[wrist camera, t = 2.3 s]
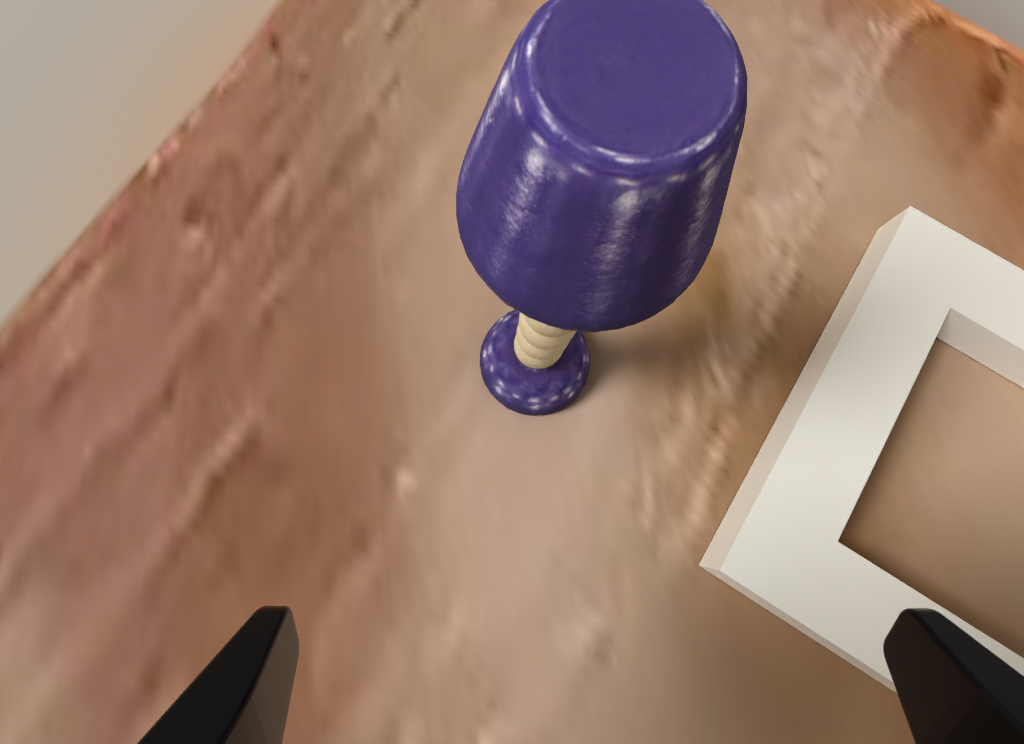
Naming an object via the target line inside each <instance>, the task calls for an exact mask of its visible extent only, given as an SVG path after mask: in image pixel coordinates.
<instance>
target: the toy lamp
mask: <svg viewBox="0 0 1024 744" xmlns="http://www.w3.org/2000/svg"><path fill="white" fill-rule="evenodd" d="M746 107H747V74H746V69H745V65H744V61H743V58H742V55H741V52H740V50H739V47H738V45H737V42H736V40H735V38H734V36H733V34H732V33H731V31H730V30H729V28H728V27H727V26H726V24H725V23H724V21H723V20H722V19H721V17H720V16H719V14H718V13H717V12H716V11H715V10H714V9H713V8H711V7H710V6H709V5H708V4H707V3H705V2H704V1H703V0H549V1H547V2H546V3H545V4H543V5H542V6H541V7H540V8H539V9H538V10H537V11H536V12H535V14H534V15H533V16H532V18H531V19H530V20H529V22H528V23H527V24H526V26H525V27H524V29H523V30H522V31H521V33H520V34H519V36H518V38H517V40H516V42H515V44H514V46H513V47H512V49H511V51H510V53H509V55H508V57H507V59H506V61H505V63H504V66H503V68H502V70H501V73H500V75H499V77H498V80H497V82H496V84H495V86H494V88H493V90H492V92H491V94H490V97H489V99H488V101H487V104H486V106H485V109H484V111H483V113H482V116H481V118H480V120H479V123H478V125H477V127H476V130H475V132H474V134H473V137H472V139H471V142H470V144H469V147H468V149H467V152H466V155H465V157H464V160H463V163H462V167H461V171H460V175H459V180H458V186H457V194H456V216H457V222H458V228H459V233H460V238H461V241H462V243H463V246H464V249H465V252H466V254H467V257H468V259H469V260H470V262H471V263H472V265H473V267H474V268H475V270H476V272H477V273H478V275H479V276H480V277H481V279H482V280H483V281H484V282H485V283H486V284H487V286H488V287H489V288H490V289H491V290H492V291H493V292H494V293H495V294H496V295H497V296H498V297H499V298H500V299H501V300H502V301H503V302H504V303H505V304H507V305H509V306H511V307H513V308H514V309H515V310H514V311H511V312H509V313H507V314H506V315H504V316H503V317H502V318H501V319H499V320H498V321H497V322H496V323H495V324H494V325H493V326H492V328H491V329H490V330H489V332H488V333H487V335H486V337H485V339H484V341H483V344H482V348H481V352H480V367H481V373H482V377H483V380H484V382H485V384H486V386H487V388H488V389H489V391H490V393H491V394H492V395H493V396H494V397H495V398H496V399H497V400H498V401H499V402H500V403H502V404H503V405H504V406H505V407H507V408H508V409H510V410H513V411H515V412H518V413H521V414H525V415H534V416H535V415H546V414H551V413H554V412H556V411H559V410H561V409H563V408H564V407H566V406H567V405H568V404H570V403H571V402H572V401H573V400H574V399H575V398H576V397H577V396H578V394H579V393H580V391H581V390H582V388H583V387H584V385H585V382H586V380H587V376H588V373H589V365H590V355H589V350H588V346H587V343H586V340H585V337H584V336H583V334H582V332H581V331H584V332H598V331H607V330H614V329H615V330H617V329H620V328H624V327H626V326H631V325H635V324H637V323H639V322H641V321H644V320H646V319H648V318H650V317H652V316H654V315H656V314H657V313H659V312H660V311H662V310H663V309H665V308H666V307H667V306H669V305H670V304H672V303H673V302H674V301H675V300H676V298H677V297H679V296H680V295H681V294H682V293H683V292H684V291H685V290H686V289H687V288H688V287H689V285H690V284H691V283H692V282H693V281H694V279H695V278H696V276H697V275H698V273H699V271H700V270H701V268H702V266H703V264H704V262H705V260H706V258H707V256H708V254H709V252H710V249H711V247H712V245H713V242H714V239H715V235H716V232H717V228H718V225H719V221H720V218H721V214H722V210H723V206H724V202H725V198H726V195H727V191H728V187H729V183H730V179H731V175H732V170H733V166H734V162H735V159H736V155H737V151H738V147H739V143H740V139H741V136H742V132H743V128H744V122H745V114H746Z"/></svg>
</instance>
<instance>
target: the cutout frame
mask: <svg viewBox="0 0 1024 744" xmlns="http://www.w3.org/2000/svg"><path fill="white" fill-rule="evenodd" d="M936 337H937V338H939V339H940V340H942V341H944V342H945V343H947V344H949V345H950V346H952V347H954V348H956V349H957V350H959V351H961V352H962V353H964V354H966V355H967V356H969V357H971V358H973V359H974V360H976V361H978V362H979V363H981V364H983V365H985V366H986V367H988V368H990V369H991V370H993V371H995V372H996V373H998V374H1000V375H1002V376H1003V377H1005V378H1007V379H1008V380H1010V381H1012V382H1013V383H1015V384H1017V385H1019V386H1020V387H1022V388H1024V270H1022V269H1020V268H1018V267H1017V266H1015V265H1013V264H1011V263H1009V262H1008V261H1006V260H1004V259H1002V258H1001V257H999V256H997V255H995V254H994V253H992V252H990V251H988V250H987V249H985V248H983V247H981V246H980V245H978V244H976V243H974V242H973V241H971V240H969V239H967V238H966V237H964V236H962V235H960V234H959V233H957V232H955V231H953V230H952V229H950V228H948V227H946V226H945V225H943V224H941V223H939V222H938V221H936V220H934V219H932V218H931V217H929V216H927V215H925V214H924V213H922V212H920V211H918V210H916V209H915V208H913V207H911V206H909V207H908V208H907V209H905V210H904V211H903V212H901V213H900V214H898V215H897V216H896V217H894V218H893V219H891V220H890V221H889V222H887V223H886V224H885V225H883V226H882V227H880V228H879V229H878V230H877V232H876V234H875V235H874V237H873V239H872V241H871V243H870V245H869V247H868V249H867V250H866V252H865V254H864V256H863V258H862V260H861V262H860V264H859V265H858V267H857V269H856V271H855V273H854V275H853V277H852V279H851V280H850V282H849V284H848V286H847V288H846V290H845V292H844V294H843V295H842V297H841V299H840V301H839V303H838V305H837V307H836V309H835V310H834V312H833V314H832V316H831V318H830V320H829V322H828V324H827V325H826V327H825V329H824V331H823V333H822V335H821V337H820V339H819V340H818V342H817V344H816V346H815V348H814V350H813V352H812V354H811V355H810V357H809V359H808V361H807V363H806V365H805V367H804V369H803V370H802V372H801V374H800V376H799V378H798V380H797V382H796V384H795V385H794V387H793V389H792V391H791V393H790V395H789V397H788V399H787V400H786V402H785V404H784V406H783V408H782V410H781V412H780V414H779V415H778V417H777V419H776V421H775V423H774V425H773V427H772V429H771V430H770V432H769V434H768V436H767V438H766V440H765V442H764V444H763V445H762V447H761V449H760V451H759V453H758V455H757V457H756V459H755V460H754V462H753V464H752V466H751V468H750V470H749V472H748V474H747V475H746V477H745V479H744V481H743V483H742V485H741V487H740V489H739V490H738V492H737V494H736V496H735V498H734V500H733V502H732V504H731V505H730V507H729V509H728V511H727V513H726V515H725V517H724V519H723V520H722V522H721V524H720V526H719V528H718V530H717V532H716V534H715V535H714V537H713V539H712V541H711V543H710V545H709V547H708V549H707V550H706V552H705V554H704V556H703V558H702V560H701V562H700V564H699V566H700V567H702V568H703V569H705V570H706V571H708V572H709V573H711V574H713V575H714V576H716V577H717V578H719V579H720V580H722V581H723V582H725V583H727V584H728V585H730V586H731V587H733V588H734V589H736V590H737V591H739V592H740V593H742V594H744V595H745V596H747V597H748V598H750V599H751V600H753V601H754V602H756V603H757V604H759V605H761V606H762V607H764V608H765V609H767V610H768V611H770V612H771V613H773V614H775V615H776V616H778V617H779V618H781V619H782V620H784V621H785V622H787V623H788V624H790V625H792V626H793V627H795V628H796V629H798V630H799V631H801V632H802V633H804V634H805V635H807V636H809V637H810V638H812V639H813V640H815V641H816V642H818V643H819V644H821V645H823V646H824V647H826V648H827V649H829V650H830V651H832V652H833V653H835V654H836V655H838V656H840V657H841V658H843V659H844V660H846V661H847V662H849V663H850V664H852V665H854V666H855V667H857V668H858V669H860V670H861V671H863V672H864V673H866V674H867V675H869V676H871V677H872V678H874V679H875V680H877V681H878V682H880V683H881V684H883V685H884V686H886V687H888V688H889V689H891V690H892V691H894V692H895V693H897V691H896V688H895V685H894V683H893V680H892V677H891V674H890V672H889V669H888V666H887V663H886V660H885V657H884V652H883V644H884V640H885V638H886V636H887V634H888V633H889V631H890V629H891V628H892V626H893V624H894V622H895V621H896V619H897V617H898V616H899V614H900V613H901V612H902V611H903V610H904V609H907V608H929V609H933V610H936V611H938V612H939V613H941V614H942V615H944V616H945V617H946V618H948V619H949V620H950V621H952V622H953V623H954V624H956V625H957V626H958V627H960V628H961V629H962V630H964V631H965V632H966V633H967V634H969V635H970V636H971V637H973V638H974V639H975V640H977V641H978V642H979V643H981V644H982V645H983V646H985V647H986V648H987V649H989V650H990V651H991V652H993V653H994V654H995V655H997V656H998V657H999V658H1000V659H1002V660H1003V661H1004V662H1006V663H1007V664H1008V665H1010V666H1011V667H1012V668H1014V669H1015V670H1016V671H1018V672H1019V673H1020V674H1022V675H1023V676H1024V658H1022V657H1021V656H1019V655H1018V654H1016V653H1014V652H1013V651H1011V650H1010V649H1008V648H1006V647H1005V646H1003V645H1002V644H1000V643H998V642H997V641H995V640H994V639H992V638H990V637H989V636H987V635H986V634H984V633H983V632H981V631H979V630H978V629H976V628H975V627H973V626H971V625H970V624H968V623H967V622H965V621H963V620H962V619H960V618H959V617H957V616H955V615H954V614H952V613H951V612H949V611H948V610H946V609H944V608H943V607H941V606H940V605H938V604H936V603H935V602H933V601H932V600H930V599H928V598H927V597H925V596H924V595H922V594H920V593H919V592H917V591H916V590H914V589H912V588H911V587H909V586H908V585H906V584H905V583H903V582H901V581H900V580H898V579H897V578H895V577H893V576H892V575H890V574H889V573H887V572H885V571H884V570H882V569H881V568H879V567H877V566H876V565H874V564H873V563H871V562H870V561H868V560H866V559H865V558H863V557H862V556H860V555H858V554H857V553H855V552H854V551H852V550H850V549H849V548H847V547H846V546H844V545H842V544H841V543H839V542H838V540H839V538H840V536H841V533H842V531H843V529H844V527H845V525H846V523H847V521H848V519H849V517H850V515H851V513H852V511H853V509H854V506H855V504H856V502H857V500H858V498H859V496H860V494H861V492H862V490H863V488H864V486H865V484H866V482H867V480H868V477H869V475H870V473H871V471H872V469H873V467H874V465H875V463H876V461H877V459H878V457H879V455H880V453H881V450H882V448H883V446H884V444H885V442H886V440H887V438H888V436H889V434H890V432H891V430H892V428H893V426H894V423H895V421H896V419H897V417H898V415H899V413H900V411H901V409H902V407H903V405H904V403H905V401H906V399H907V397H908V394H909V392H910V390H911V388H912V386H913V384H914V382H915V380H916V378H917V376H918V374H919V372H920V370H921V367H922V365H923V363H924V361H925V359H926V357H927V355H928V353H929V351H930V349H931V347H932V345H933V343H934V340H935V338H936Z"/></svg>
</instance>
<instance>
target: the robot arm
mask: <svg viewBox="0 0 1024 744" xmlns="http://www.w3.org/2000/svg"><path fill="white" fill-rule="evenodd" d="M883 652H884V657H885V660H886V663H887V666H888V669H889V672H890V674H891V677H892V680H893V683H894V685H895V688H896V691H897V694H898V696H899V699H900V702H901V705H902V708H903V710H904V713H905V716H906V719H907V721H908V724H909V727H910V730H911V732H912V735H913V738H914V741H915V744H1024V676H1023V675H1022V674H1020V673H1019V672H1018V671H1016V670H1015V669H1014V668H1012V667H1011V666H1010V665H1008V664H1007V663H1006V662H1004V661H1003V660H1002V659H1000V658H999V657H998V656H997V655H995V654H994V653H993V652H991V651H990V650H989V649H987V648H986V647H985V646H983V645H982V644H981V643H979V642H978V641H977V640H975V639H974V638H973V637H971V636H970V635H969V634H967V633H966V632H965V631H964V630H962V629H961V628H960V627H958V626H957V625H956V624H954V623H953V622H952V621H950V620H949V619H948V618H946V617H945V616H944V615H942V614H941V613H939V612H938V611H936V610H933V609H929V608H907V609H904V610H903V611H902V612H901V613H900V614H899V616H898V617H897V619H896V621H895V622H894V624H893V626H892V628H891V629H890V631H889V633H888V634H887V636H886V638H885V640H884V644H883ZM298 656H299V639H298V635H297V631H296V626H295V622H294V618H293V613H292V611H291V609H290V608H289V607H287V606H264V607H261V608H259V609H258V610H257V611H256V612H255V613H254V614H253V615H252V616H251V617H250V618H249V619H248V620H247V622H246V623H245V624H244V625H243V626H242V627H241V628H240V629H239V630H238V632H237V633H236V634H235V635H234V636H233V637H232V638H231V639H230V641H229V642H228V643H227V644H226V645H225V646H224V647H223V648H222V649H221V651H220V652H219V653H218V654H217V655H216V656H215V657H214V658H213V659H212V661H211V662H210V663H209V664H208V665H207V666H206V667H205V668H204V670H203V671H202V672H201V673H200V674H199V675H198V676H197V677H196V678H195V680H194V681H193V682H192V683H191V684H190V685H189V686H188V687H187V689H186V690H185V691H184V692H183V693H182V694H181V695H180V696H179V697H178V699H177V700H176V701H175V702H174V703H173V704H172V705H171V706H170V708H169V709H168V710H167V711H166V712H165V713H164V714H163V715H162V716H161V718H160V719H159V720H158V721H157V722H156V723H155V724H154V725H153V726H152V728H151V729H150V730H149V731H148V732H147V733H146V734H145V735H144V737H143V738H142V739H141V740H140V741H139V742H138V743H137V744H282V739H283V734H284V729H285V724H286V719H287V713H288V708H289V703H290V698H291V693H292V687H293V682H294V677H295V672H296V667H297V661H298Z"/></svg>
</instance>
